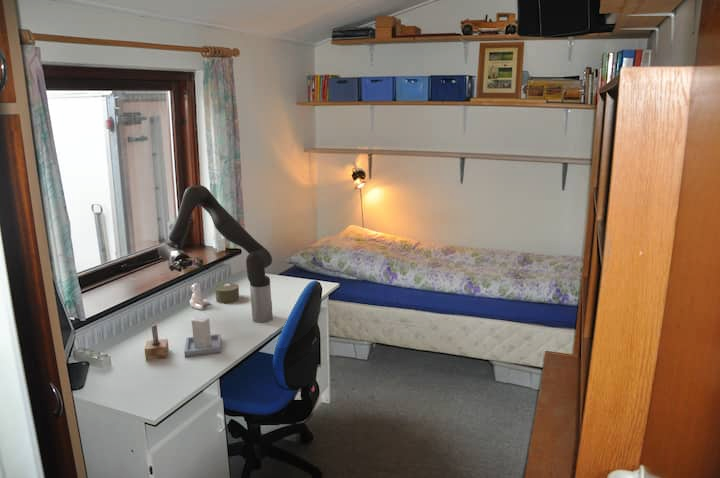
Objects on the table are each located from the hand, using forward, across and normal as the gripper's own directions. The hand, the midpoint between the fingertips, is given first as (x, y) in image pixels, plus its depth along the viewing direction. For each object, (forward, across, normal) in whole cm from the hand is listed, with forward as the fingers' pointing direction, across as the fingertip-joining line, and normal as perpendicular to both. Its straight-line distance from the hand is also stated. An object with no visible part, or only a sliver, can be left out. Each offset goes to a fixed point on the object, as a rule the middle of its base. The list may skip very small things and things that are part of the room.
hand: (190, 268), depth 243 cm
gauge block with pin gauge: (+13, -20, +30) cm, 38 cm away
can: (-32, +26, +30) cm, 51 cm away
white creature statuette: (-31, +11, +30) cm, 45 cm away
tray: (+17, -3, +30) cm, 35 cm away
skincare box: (+17, -3, +29) cm, 34 cm away
